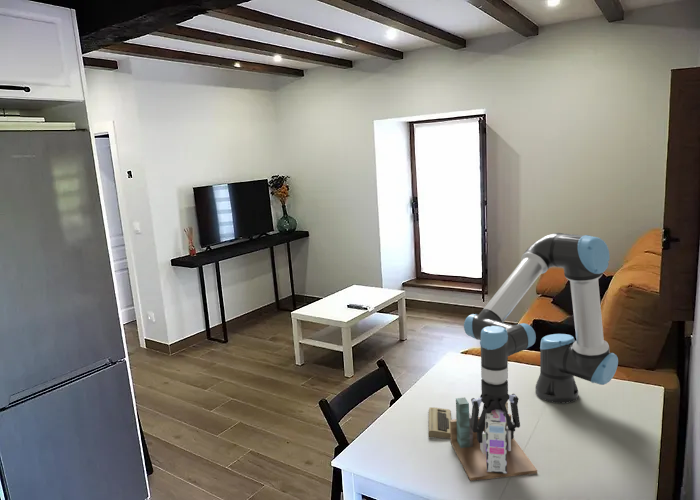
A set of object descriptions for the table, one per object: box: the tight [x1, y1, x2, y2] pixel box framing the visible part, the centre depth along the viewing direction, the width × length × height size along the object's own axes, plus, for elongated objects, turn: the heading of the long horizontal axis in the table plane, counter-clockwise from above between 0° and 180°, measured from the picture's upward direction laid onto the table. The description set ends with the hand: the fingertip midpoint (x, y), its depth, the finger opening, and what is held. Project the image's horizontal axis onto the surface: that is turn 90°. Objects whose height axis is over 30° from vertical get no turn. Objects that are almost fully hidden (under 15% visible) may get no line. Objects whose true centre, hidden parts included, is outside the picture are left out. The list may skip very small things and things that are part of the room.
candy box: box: [485, 409, 507, 474], centre depth 150 cm, size 14×6×16 cm, turn 166°
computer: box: [427, 407, 453, 439], centre depth 174 cm, size 16×8×3 cm, turn 171°
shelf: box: [450, 397, 538, 482], centre depth 153 cm, size 20×20×16 cm
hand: (495, 449), depth 151 cm, fingers closed on candy box, 7 cm apart
